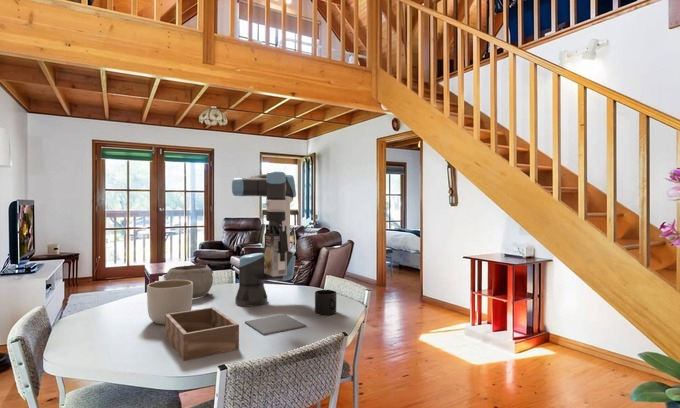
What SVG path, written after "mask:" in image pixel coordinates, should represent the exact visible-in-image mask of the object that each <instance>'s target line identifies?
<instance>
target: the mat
mask: <svg viewBox="0 0 680 408" xmlns="http://www.w3.org/2000/svg"><path fill="white" fill-rule="evenodd" d="M244 324H246V325H247V326H249V327H250V328H252V329H253V330H255V331H256V332H258V333H260V334H261V335H262V336H267V335H271V334H272V335H273V334H276V333H277V334H278V333H282V332H286V331H292V330H297V329H301V328H306V327H307V326H308V325H307V324H305V323H303V322H301V321H299V320H297V319H296V318H294V317H291V316H290V315H287V314H285V313H284V314H279V315H273V316H267V317H263V318H256V319H251V320H244Z"/></svg>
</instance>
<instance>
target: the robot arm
mask: <svg viewBox="0 0 680 408" xmlns="http://www.w3.org/2000/svg"><path fill="white" fill-rule="evenodd" d="M295 183H296V182H295V178H294V175H292V174H286V173H285V172H284V171H268V172H267V173H265V174H258V175H253V176H249V177H237V178H236V177H234V178H233V179H232V181H231V191H232V193H231V194H232V195H233V196H234V197H262V198H265V199H266V201H265V206H266V207H265V208H266V210H267V211H266V213H265V220H266V221H267V222H268V224H265V232H264V234H265V233H269V234H271V233H272V234H275V235H277V234H279V235H280V241H278V250H279V251H278V252H277V253H278V270H285V253H286V252H287V275H284V276H275V277H272V276H270V275H268V274H265V273H264V252H257V253H249V254H245V255H242V256H241V257H240V258H239V263H238V264H239V265H238V267H239V268H238V270H239V272H238V275H239V276H238V279H239V280H238V284H239V285H238V289H237V291H236V295H235V300H234V301H235V302H234V303H235V305H237V306H240V307H241V306H242V307H256V306H262V305H265V304H267V302H268V295H267V294H268V293H267V291H266V288H265V281H290V280H292V279H293V278H294V272H295V265H296V258H297V257H296V255H294V254H293V251H292V250H291V246H290V245H291V242H290V241H291V240H290V239H291V203H292V202H293V201H294V198H296V197H297V192H296V184H295Z"/></svg>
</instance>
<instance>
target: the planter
mask: <svg viewBox="0 0 680 408" xmlns="http://www.w3.org/2000/svg"><path fill="white" fill-rule="evenodd" d="M192 294H193V282H192V281H189V280H166V279H165V280H157V281H154V282H150V283H148V284H147V285H146V299H147V300H146V301H147V303H146V305H147V312H148V313H147V314H148V317H149V318H150V320H151V321H153V322H154V323H155V324H158V325H163V326H165V314H170V313H177V312H184V311H190V310H192V307H193V299H192Z"/></svg>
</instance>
